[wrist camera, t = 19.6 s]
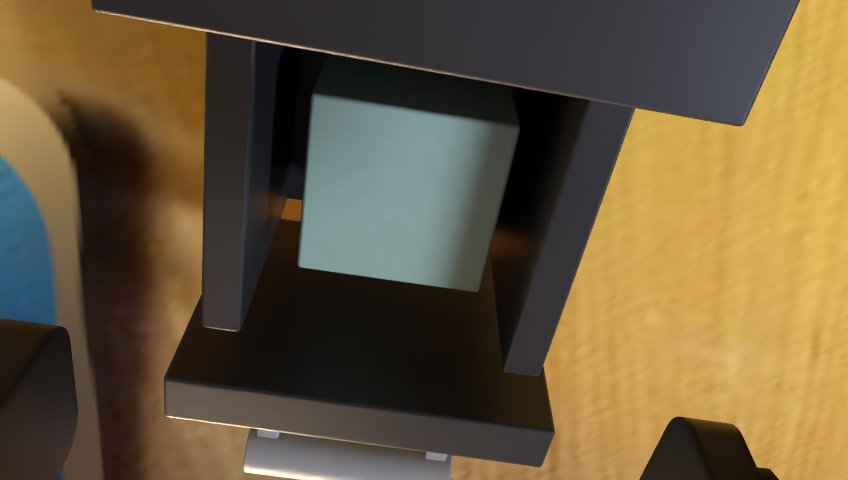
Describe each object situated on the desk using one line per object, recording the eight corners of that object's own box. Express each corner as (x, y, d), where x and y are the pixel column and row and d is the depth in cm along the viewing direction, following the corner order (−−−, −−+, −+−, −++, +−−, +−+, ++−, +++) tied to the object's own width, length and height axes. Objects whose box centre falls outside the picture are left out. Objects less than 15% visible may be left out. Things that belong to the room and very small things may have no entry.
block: (321, 180, 19) (295, 268, 16) (336, 28, 17) (310, 93, 14) (472, 202, 19) (480, 294, 16) (505, 56, 17) (522, 127, 14)
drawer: (484, 387, 24) (499, 577, 19) (231, 351, 24) (166, 536, 18) (642, -127, 16) (755, -69, 10) (257, -207, 15) (151, -191, 10)
